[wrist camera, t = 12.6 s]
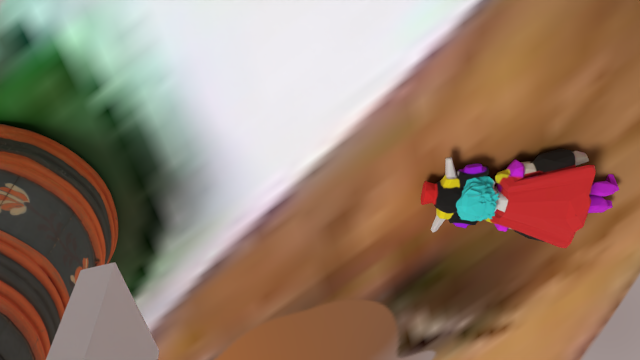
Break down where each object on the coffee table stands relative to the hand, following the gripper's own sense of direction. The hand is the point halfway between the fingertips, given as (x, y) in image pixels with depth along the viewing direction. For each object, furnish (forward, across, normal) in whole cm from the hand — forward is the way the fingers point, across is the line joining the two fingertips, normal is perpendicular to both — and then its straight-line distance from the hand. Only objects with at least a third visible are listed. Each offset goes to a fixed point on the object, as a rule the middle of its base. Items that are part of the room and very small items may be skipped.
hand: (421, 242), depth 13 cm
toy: (+27, +11, -18) cm, 35 cm away
